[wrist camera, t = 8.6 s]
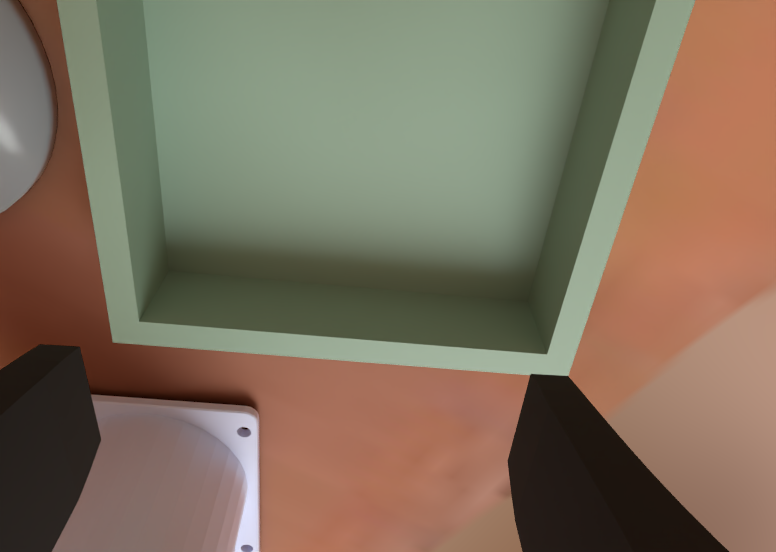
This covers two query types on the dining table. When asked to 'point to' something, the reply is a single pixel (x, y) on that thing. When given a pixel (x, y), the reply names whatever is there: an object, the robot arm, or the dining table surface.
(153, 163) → the pale green open box
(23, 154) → the saucer
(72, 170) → the dining table surface
